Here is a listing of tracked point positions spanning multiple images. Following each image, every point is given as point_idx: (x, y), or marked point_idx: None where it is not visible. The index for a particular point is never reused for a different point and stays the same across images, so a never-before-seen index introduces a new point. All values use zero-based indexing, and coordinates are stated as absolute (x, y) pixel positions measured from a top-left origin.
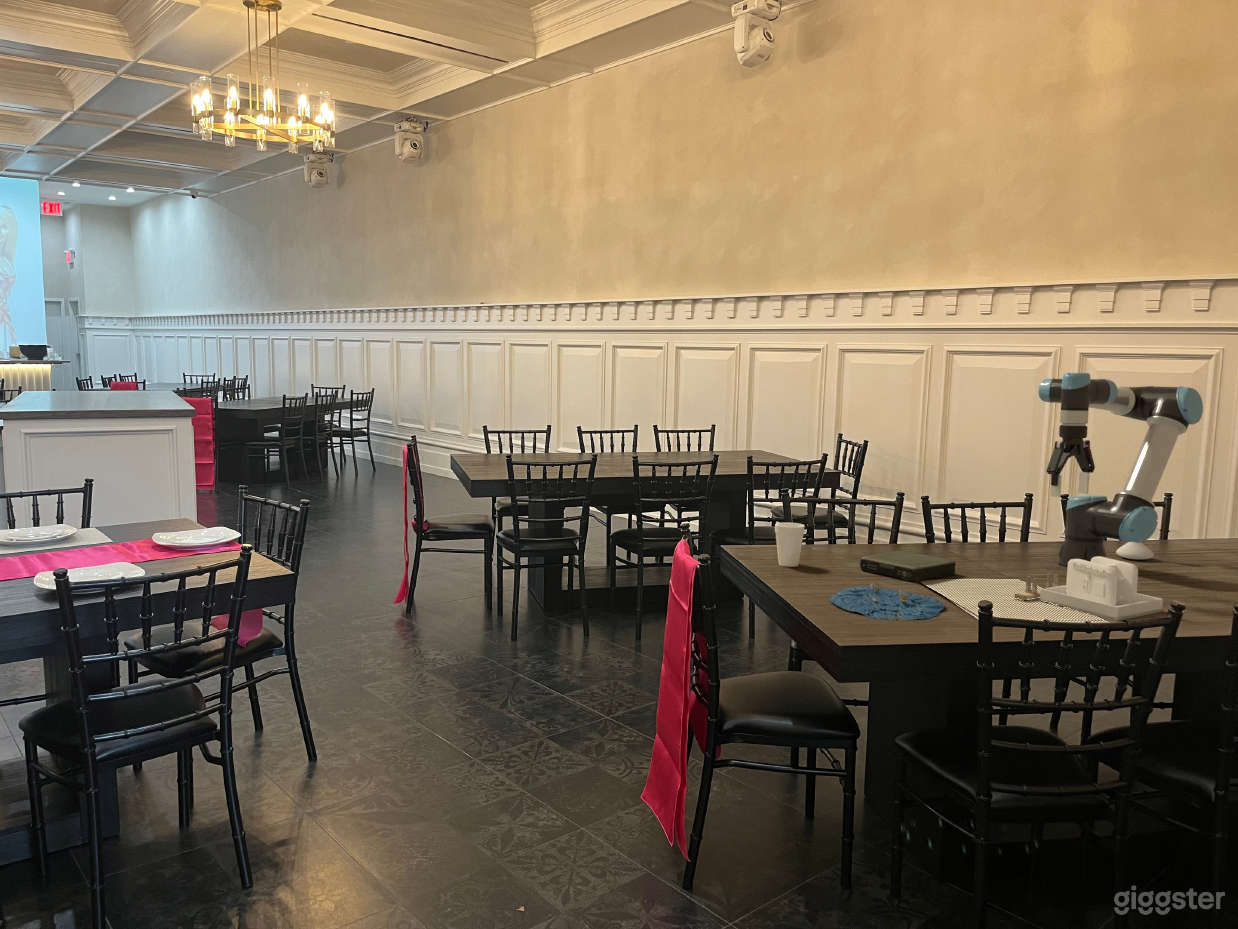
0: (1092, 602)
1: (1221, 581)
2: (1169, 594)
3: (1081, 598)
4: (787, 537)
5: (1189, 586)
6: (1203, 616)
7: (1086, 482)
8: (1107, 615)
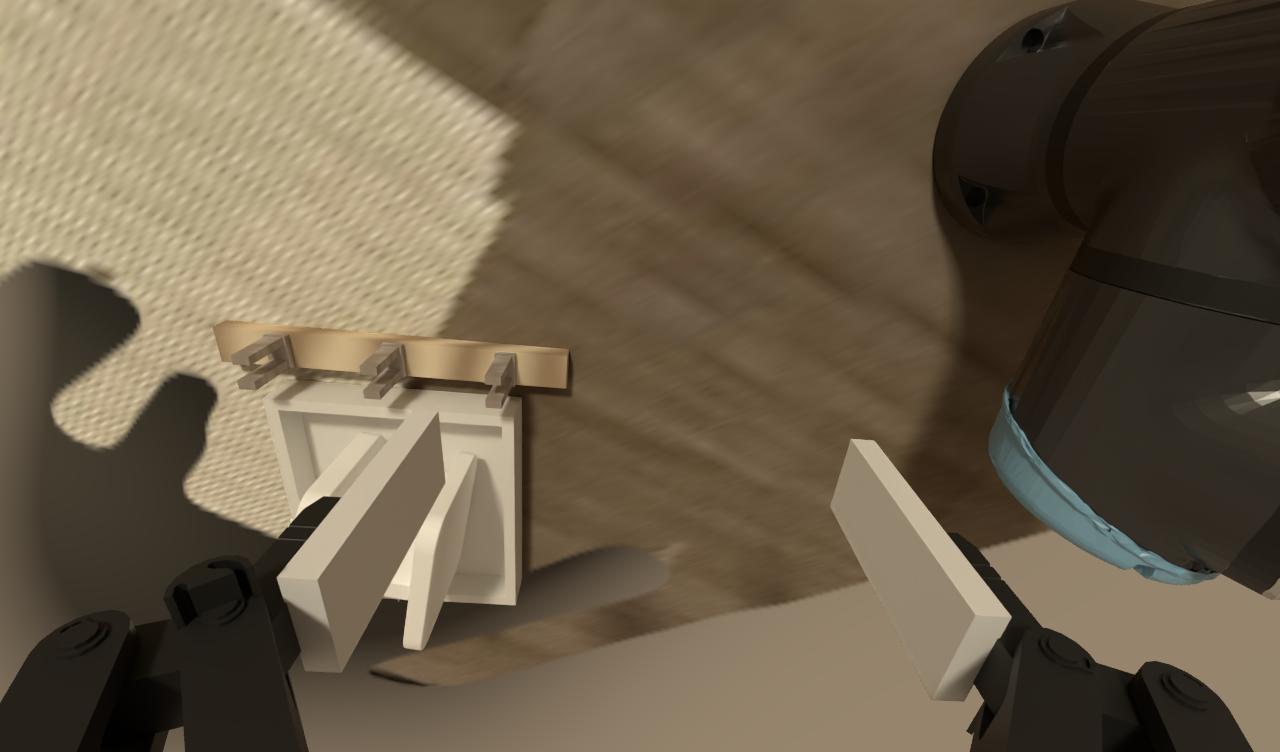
0: None
1: None
2: (740, 515)
3: (295, 514)
4: None
5: None
6: (568, 629)
7: (877, 584)
8: None
